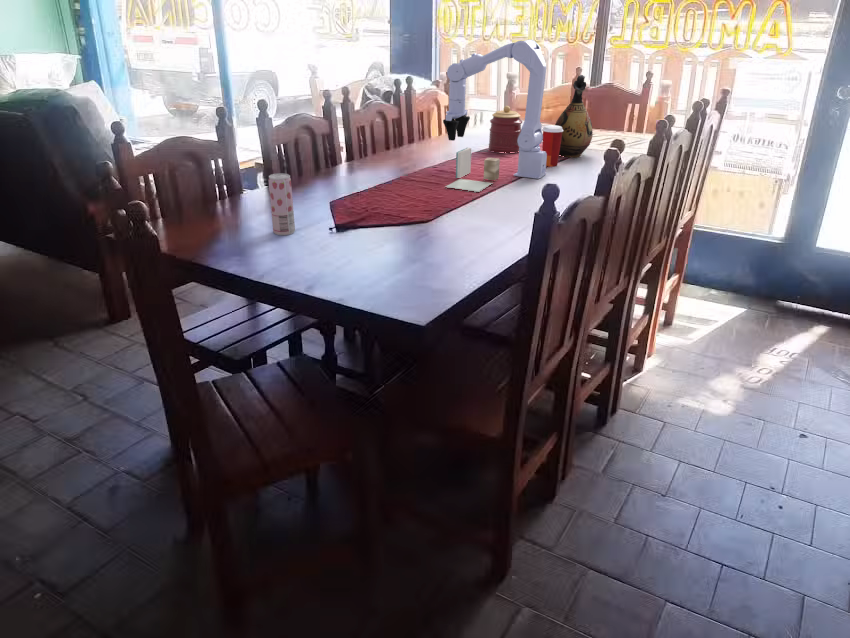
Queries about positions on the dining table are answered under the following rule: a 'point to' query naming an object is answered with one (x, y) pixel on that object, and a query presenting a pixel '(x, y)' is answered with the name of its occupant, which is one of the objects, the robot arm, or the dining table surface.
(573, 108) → the ceramic jug
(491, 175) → the pusher block
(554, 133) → the paper cup
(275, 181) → the beverage can
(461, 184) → the mat
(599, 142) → the dining table surface
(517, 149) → the canister
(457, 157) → the tile
